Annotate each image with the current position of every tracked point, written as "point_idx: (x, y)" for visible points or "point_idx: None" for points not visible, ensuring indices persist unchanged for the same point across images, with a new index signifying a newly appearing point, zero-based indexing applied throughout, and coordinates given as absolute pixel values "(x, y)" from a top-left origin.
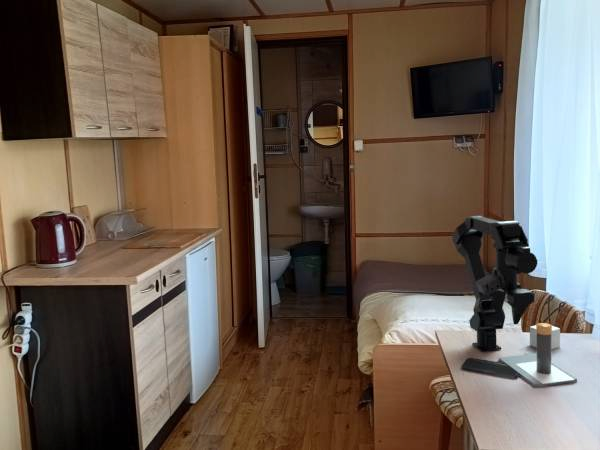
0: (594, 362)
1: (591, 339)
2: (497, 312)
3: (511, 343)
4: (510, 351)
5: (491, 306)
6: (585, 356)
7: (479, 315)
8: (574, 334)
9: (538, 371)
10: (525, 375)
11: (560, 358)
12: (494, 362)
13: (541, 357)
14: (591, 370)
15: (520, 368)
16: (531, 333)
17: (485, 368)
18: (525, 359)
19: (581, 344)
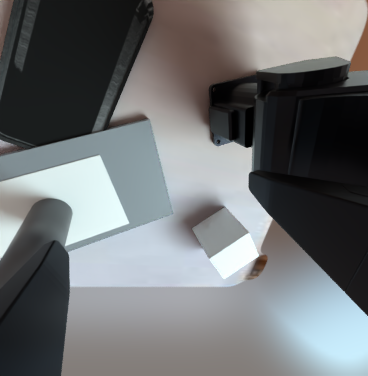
0: (135, 286)
1: (223, 284)
2: (256, 178)
3: (241, 175)
4: (201, 163)
5: (335, 164)
6: (161, 277)
7: (309, 77)
8: (246, 268)
9: (37, 202)
10: (4, 163)
11: (154, 245)
12: (116, 96)
13: (13, 238)
14: (96, 283)
15: (67, 161)
16: (236, 225)
17: (52, 39)
18: (135, 186)
19: (209, 274)
